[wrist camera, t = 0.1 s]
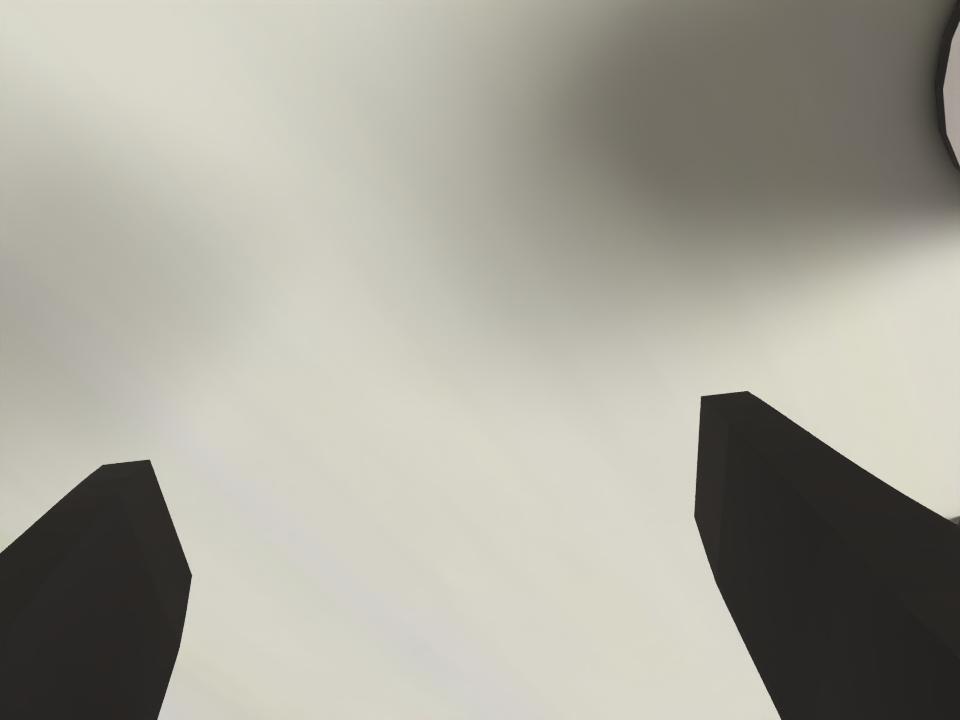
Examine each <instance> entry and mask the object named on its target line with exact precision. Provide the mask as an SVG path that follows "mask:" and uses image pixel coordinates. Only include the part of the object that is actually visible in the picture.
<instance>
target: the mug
mask: <svg viewBox="0 0 960 720" xmlns="http://www.w3.org/2000/svg"><path fill="white" fill-rule="evenodd" d="M936 97H937V109H938V121H939V130H940V133H941V135H942V138H943V140H944V143H945V145H946V147H947V150H948V152H949V155H950V157H951V159H952V162H953V164H954V166H955V167H956V168H957V169H958V170H959V171H960V0H958V2H957V5H956V7H955V10H954V12H953V14H952V17H951V19H950V22H949V24H948V27H947V29H946V31H945V34H944V37H943V43H942V48H941V54H940V60H939V65H938V71H937V77H936Z"/></svg>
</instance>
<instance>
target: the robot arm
mask: <svg viewBox="0 0 960 720" xmlns="http://www.w3.org/2000/svg"><path fill="white" fill-rule="evenodd" d="M694 517H695V520H696V523H697V527H698V530H699V533H700V536H701V539H702V542H703V546H704V549H705V552H706V555H707V558H708V561H709V564H710V567H711V570H712V572H713V575H714V578H715V581H716V584H717V586H718V588H719V590H720V593H721V595H722V597H723V599H724V601H725V603H726V605H727V608H728V610H729V612H730V614H731V616H732V618H733V620H734V622H735V624H736V626H737V629H738V631H739V633H740V635H741V637H742V639H743V641H744V643H745V645H746V647H747V649H748V651H749V654H750V656H751V658H752V660H753V662H754V664H755V666H756V668H757V670H758V672H759V674H760V676H761V678H762V680H763V682H764V685H765V687H766V689H767V691H768V693H769V695H770V697H771V699H772V701H773V703H774V705H775V707H776V709H777V711H778V713H779V716H780V718H781V720H960V526H958V525H956V524H954V523H952V522H951V521H949V520H947V519H946V518H944V517H942V516H940V515H939V514H937V513H935V512H933V511H932V510H930V509H928V508H927V507H925V506H923V505H921V504H920V503H918V502H916V501H915V500H913V499H911V498H909V497H908V496H906V495H904V494H903V493H901V492H899V491H898V490H896V489H895V488H893V487H891V486H890V485H888V484H886V483H885V482H883V481H882V480H880V479H878V478H877V477H875V476H874V475H872V474H871V473H869V472H867V471H866V470H864V469H863V468H861V467H860V466H858V465H857V464H855V463H854V462H852V461H851V460H849V459H848V458H846V457H844V456H843V455H841V454H840V453H839V452H837V451H836V450H834V449H833V448H831V447H830V446H828V445H827V444H825V443H824V442H822V441H821V440H819V439H818V438H816V437H815V436H813V435H812V434H811V433H809V432H808V431H806V430H805V429H803V428H802V427H800V426H799V425H797V424H796V423H794V422H793V421H792V420H790V419H789V418H787V417H786V416H784V415H783V414H781V413H780V412H779V411H777V410H776V409H774V408H773V407H771V406H770V405H768V404H767V403H765V402H764V401H762V400H761V399H759V398H758V397H756V396H754V395H753V394H751V393H750V392H748V391H744V392H735V393H726V394H718V395H709V396H701V408H700V425H699V443H698V460H697V478H696V495H695V513H694ZM191 578H192V574H191V571H190V569H189V566H188V563H187V560H186V558H185V555H184V552H183V549H182V547H181V544H180V541H179V538H178V536H177V533H176V530H175V527H174V525H173V522H172V519H171V516H170V514H169V511H168V508H167V505H166V503H165V500H164V497H163V495H162V492H161V489H160V486H159V484H158V481H157V478H156V475H155V473H154V470H153V467H152V464H151V462H150V460H142V461H133V462H124V463H116V464H107V465H102V466H101V467H100V468H98V469H97V470H96V471H94V472H93V473H92V474H90V475H89V476H88V477H87V478H86V479H84V480H83V481H82V482H81V483H80V484H78V485H77V486H76V487H75V488H74V489H73V490H71V491H70V492H69V493H68V494H67V495H66V496H65V497H63V498H62V499H61V500H60V501H59V502H58V503H57V504H55V505H54V506H53V507H52V508H51V509H50V510H49V511H48V512H46V513H45V514H44V515H43V516H42V517H41V518H40V519H39V520H38V521H36V522H35V523H34V524H33V525H32V526H31V527H30V528H29V529H27V530H26V531H25V532H24V533H23V534H22V535H21V536H19V537H18V538H17V539H16V540H15V541H14V542H13V543H12V544H10V545H9V546H8V547H7V548H6V549H5V550H4V551H2V552H1V553H0V720H157V719H158V715H159V712H160V709H161V706H162V703H163V700H164V697H165V693H166V690H167V687H168V684H169V681H170V677H171V674H172V671H173V668H174V664H175V661H176V658H177V654H178V651H179V648H180V643H181V637H182V632H183V627H184V622H185V616H186V610H187V604H188V598H189V591H190V585H191Z"/></svg>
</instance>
